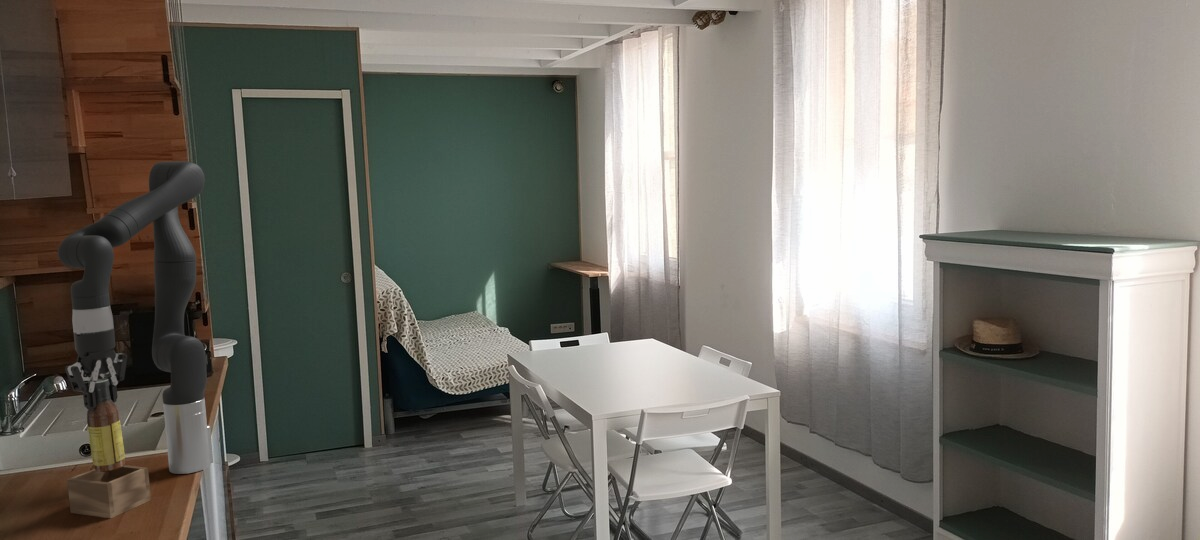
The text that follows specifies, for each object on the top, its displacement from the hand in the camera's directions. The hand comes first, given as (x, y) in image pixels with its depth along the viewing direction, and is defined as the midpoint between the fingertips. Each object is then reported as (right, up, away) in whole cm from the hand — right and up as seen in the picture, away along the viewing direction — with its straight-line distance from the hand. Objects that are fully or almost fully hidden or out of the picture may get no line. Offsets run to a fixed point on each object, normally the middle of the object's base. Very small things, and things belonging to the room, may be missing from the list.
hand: (101, 405), depth 189 cm
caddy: (+1, -23, +3) cm, 23 cm away
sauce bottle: (+1, -14, +2) cm, 15 cm away
